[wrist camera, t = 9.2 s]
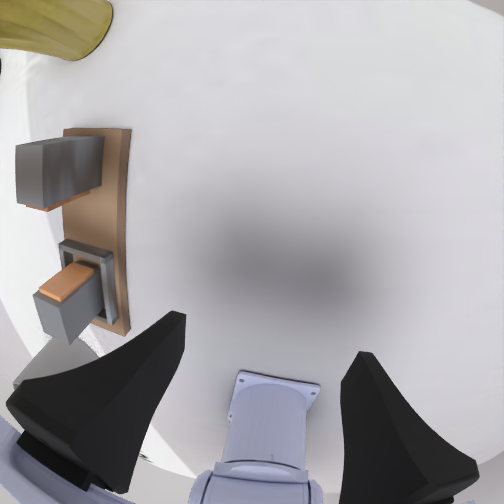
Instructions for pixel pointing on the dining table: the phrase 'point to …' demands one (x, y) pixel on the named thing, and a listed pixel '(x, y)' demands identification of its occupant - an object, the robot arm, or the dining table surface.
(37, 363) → the cup
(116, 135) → the wooden base with frame
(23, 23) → the vase
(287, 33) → the dining table surface
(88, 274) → the block
